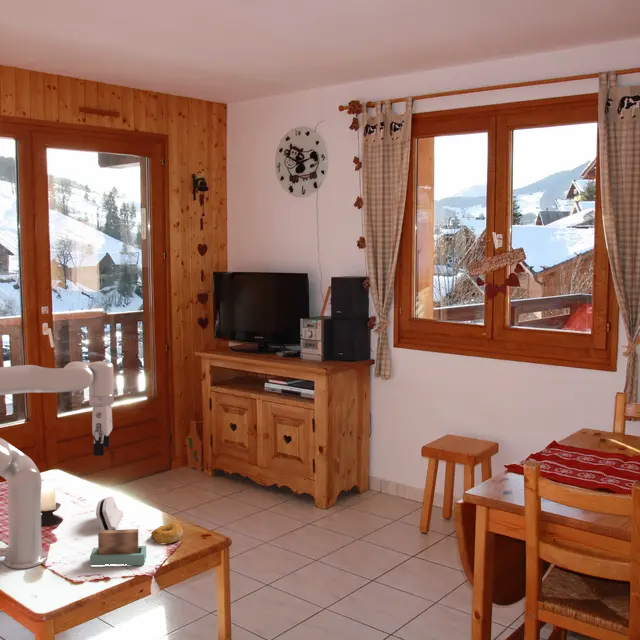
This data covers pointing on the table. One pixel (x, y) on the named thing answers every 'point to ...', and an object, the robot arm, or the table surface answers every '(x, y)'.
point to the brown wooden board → (118, 542)
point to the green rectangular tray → (119, 558)
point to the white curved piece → (108, 514)
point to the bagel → (167, 533)
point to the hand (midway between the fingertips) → (101, 451)
